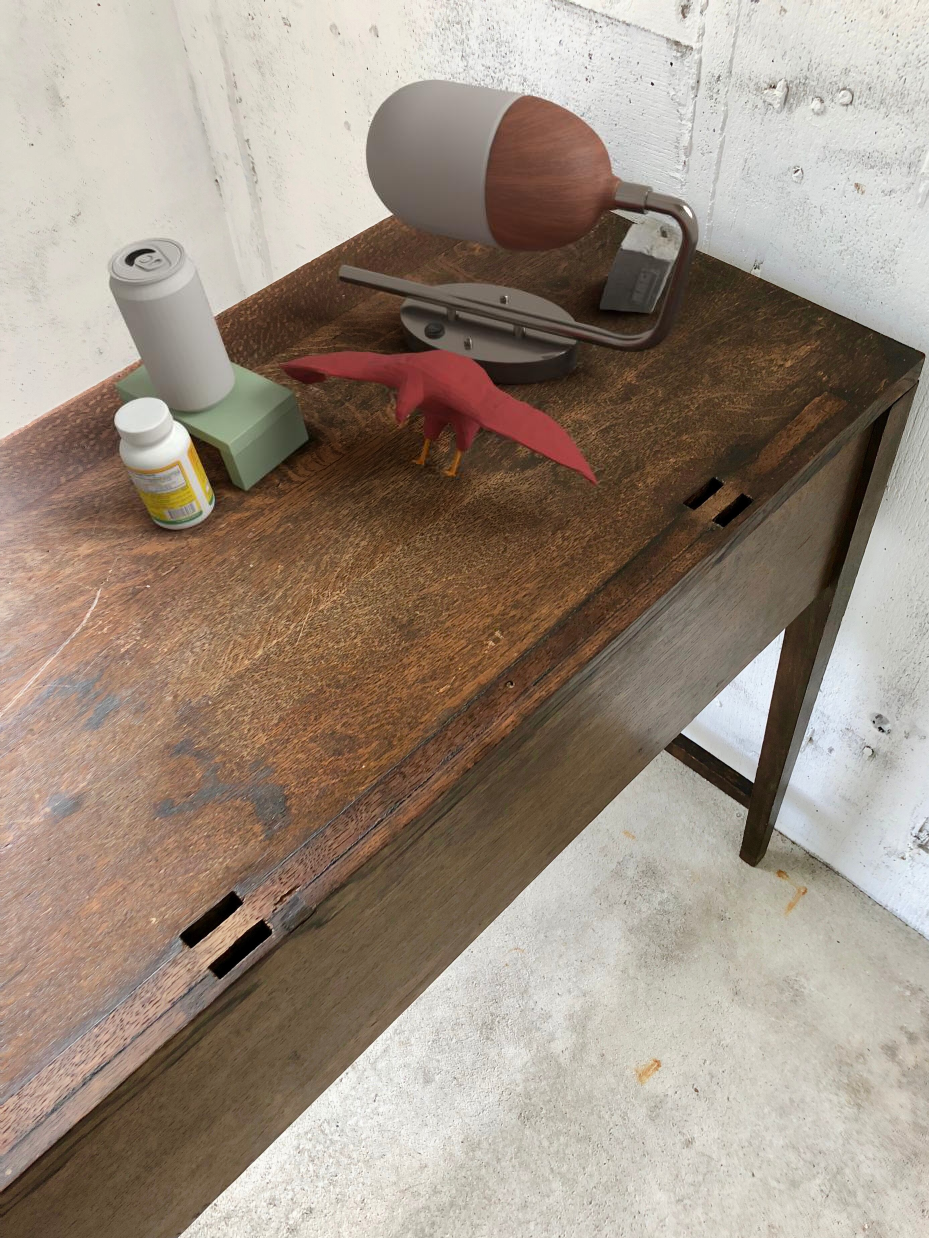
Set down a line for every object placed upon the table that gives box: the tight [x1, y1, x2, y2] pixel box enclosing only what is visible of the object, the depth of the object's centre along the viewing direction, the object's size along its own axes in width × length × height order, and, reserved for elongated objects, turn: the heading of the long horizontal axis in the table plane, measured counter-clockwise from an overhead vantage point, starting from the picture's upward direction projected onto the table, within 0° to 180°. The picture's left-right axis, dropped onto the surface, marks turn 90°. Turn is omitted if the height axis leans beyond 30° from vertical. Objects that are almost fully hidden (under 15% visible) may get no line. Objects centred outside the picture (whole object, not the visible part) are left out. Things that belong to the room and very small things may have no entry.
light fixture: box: [338, 79, 700, 385], centre depth 79 cm, size 11×22×34 cm
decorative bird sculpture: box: [278, 350, 599, 487], centre depth 76 cm, size 28×9×15 cm
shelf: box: [113, 361, 310, 492], centre depth 81 cm, size 14×8×5 cm, turn 54°
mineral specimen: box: [599, 215, 682, 314], centre depth 87 cm, size 7×9×8 cm
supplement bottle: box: [113, 398, 216, 531], centre depth 74 cm, size 5×5×10 cm
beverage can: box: [106, 237, 235, 412], centre depth 74 cm, size 6×6×12 cm
